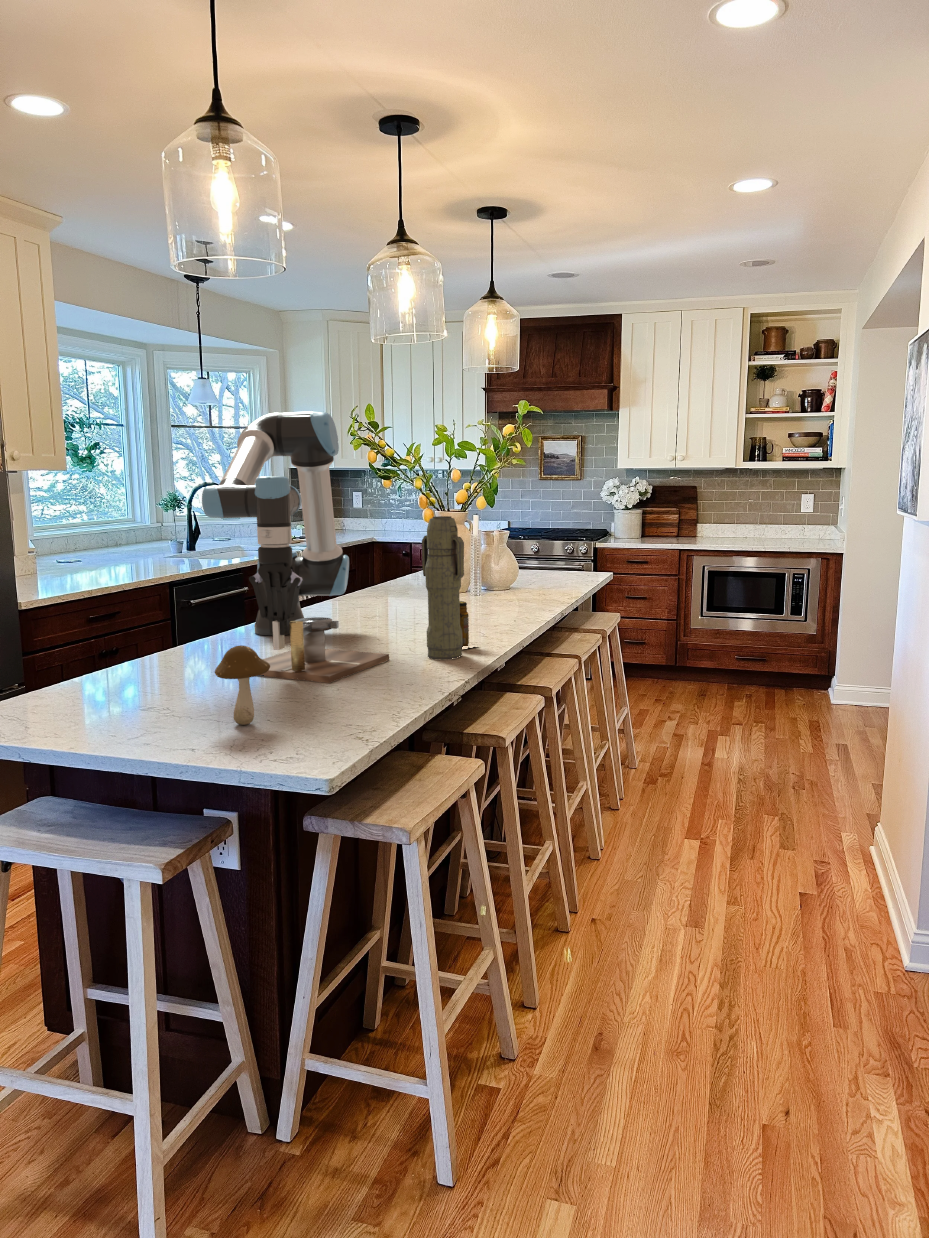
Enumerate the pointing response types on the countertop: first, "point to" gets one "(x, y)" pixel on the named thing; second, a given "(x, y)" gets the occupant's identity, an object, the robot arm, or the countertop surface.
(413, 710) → the countertop surface
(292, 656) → the crank handle
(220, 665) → the mushroom
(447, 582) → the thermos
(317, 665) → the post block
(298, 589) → the robot arm
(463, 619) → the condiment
